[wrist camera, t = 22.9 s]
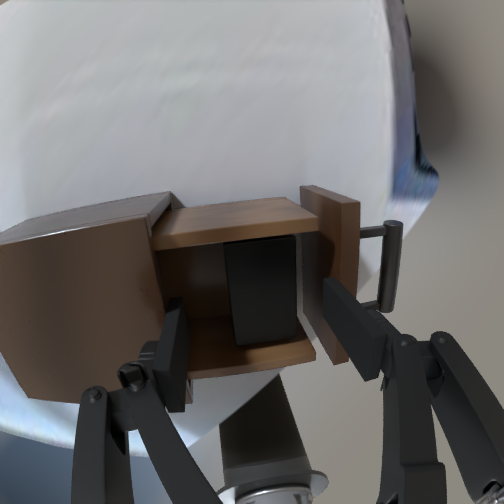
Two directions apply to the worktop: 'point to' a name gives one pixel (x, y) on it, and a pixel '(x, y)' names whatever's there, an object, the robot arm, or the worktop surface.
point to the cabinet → (81, 296)
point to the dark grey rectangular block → (262, 288)
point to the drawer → (256, 226)
